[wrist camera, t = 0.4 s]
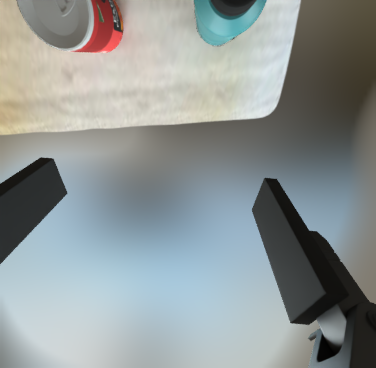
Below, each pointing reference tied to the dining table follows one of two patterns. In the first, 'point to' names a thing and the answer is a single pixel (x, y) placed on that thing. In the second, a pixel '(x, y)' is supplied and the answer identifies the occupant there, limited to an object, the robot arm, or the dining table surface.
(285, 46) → the dining table surface
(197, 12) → the beverage bottle
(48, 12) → the canned food
